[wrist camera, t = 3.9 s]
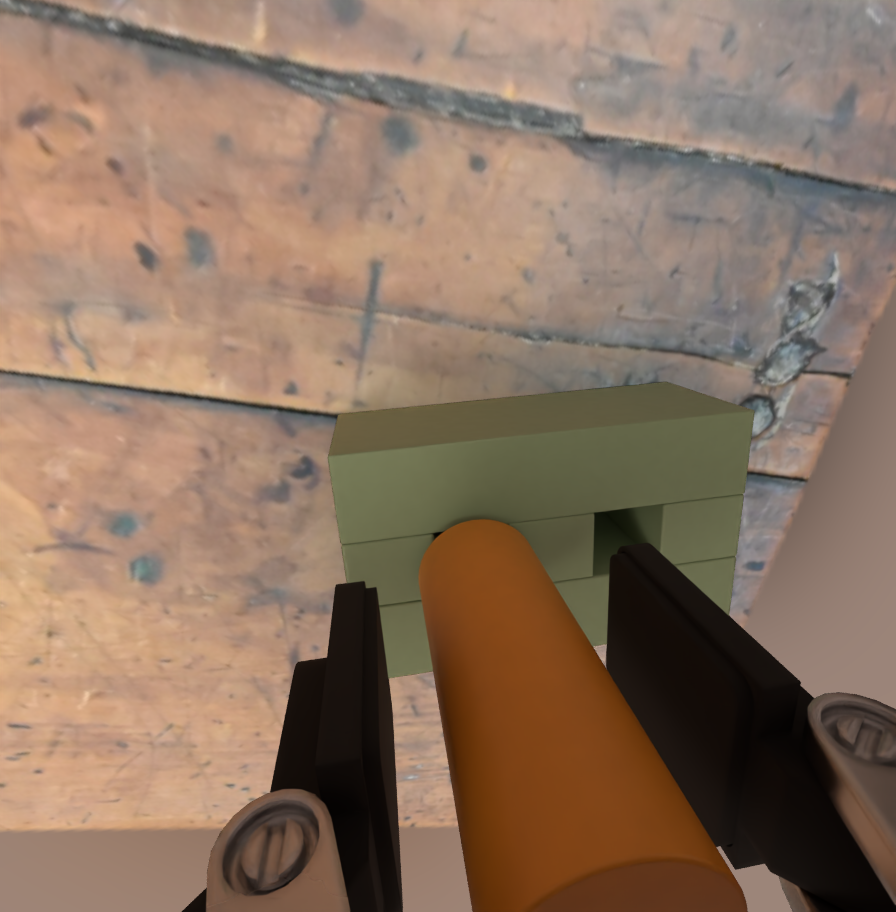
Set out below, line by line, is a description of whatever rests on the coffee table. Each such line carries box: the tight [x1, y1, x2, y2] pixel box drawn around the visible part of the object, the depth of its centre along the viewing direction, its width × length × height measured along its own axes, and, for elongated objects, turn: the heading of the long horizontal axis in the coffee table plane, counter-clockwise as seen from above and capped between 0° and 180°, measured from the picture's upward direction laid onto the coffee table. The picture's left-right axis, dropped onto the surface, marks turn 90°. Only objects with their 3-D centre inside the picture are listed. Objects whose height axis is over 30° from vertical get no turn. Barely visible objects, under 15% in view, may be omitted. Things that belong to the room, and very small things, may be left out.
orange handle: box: [418, 519, 748, 912], centre depth 11 cm, size 3×3×12 cm
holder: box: [328, 382, 754, 678], centre depth 15 cm, size 6×10×4 cm, turn 94°
